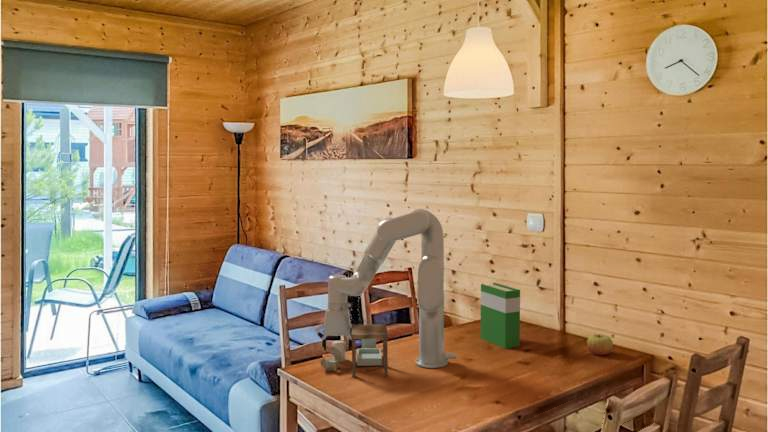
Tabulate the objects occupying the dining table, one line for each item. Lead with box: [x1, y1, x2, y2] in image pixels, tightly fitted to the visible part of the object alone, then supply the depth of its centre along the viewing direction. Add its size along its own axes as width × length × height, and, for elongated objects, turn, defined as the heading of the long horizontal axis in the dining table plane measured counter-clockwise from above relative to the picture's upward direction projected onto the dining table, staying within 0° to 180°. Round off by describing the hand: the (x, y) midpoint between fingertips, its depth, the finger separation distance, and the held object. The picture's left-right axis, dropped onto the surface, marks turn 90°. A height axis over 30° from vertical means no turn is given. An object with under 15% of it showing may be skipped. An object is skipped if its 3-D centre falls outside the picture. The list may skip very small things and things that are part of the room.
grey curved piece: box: [320, 345, 342, 373], centre depth 232 cm, size 9×6×10 cm
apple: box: [586, 333, 614, 356], centre depth 249 cm, size 10×10×8 cm
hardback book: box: [479, 282, 521, 349], centre depth 265 cm, size 18×7×24 cm, turn 26°
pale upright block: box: [331, 340, 346, 363], centre depth 243 cm, size 5×5×7 cm
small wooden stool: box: [351, 323, 389, 378], centre depth 230 cm, size 13×14×16 cm
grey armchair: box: [356, 339, 383, 367], centre depth 247 cm, size 9×23×5 cm, turn 2°
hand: (337, 349), depth 243 cm, fingers open, 9 cm apart
